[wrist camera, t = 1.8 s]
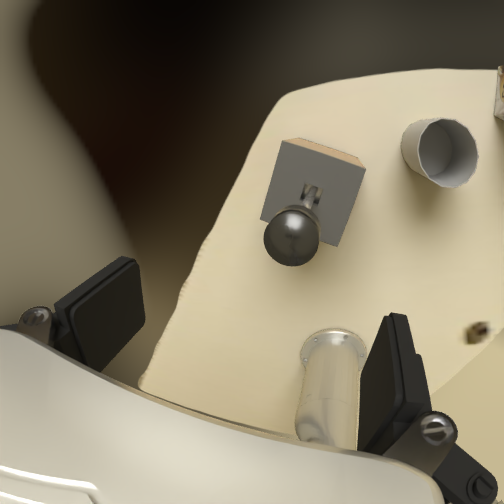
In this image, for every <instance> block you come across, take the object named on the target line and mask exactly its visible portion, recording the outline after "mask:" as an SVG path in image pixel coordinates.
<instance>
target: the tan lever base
mask: <svg viewBox="0 0 504 504" xmlns="http://www.w3.org/2000/svg"><path fill="white" fill-rule="evenodd" d="M365 171H366V168H365V167H364V166H363V164H362V163H361V162H360V160H359V159H358V158H357V157H354V156H351V155H349V154H346V153H343V152H340V151H337V150H334V149H332V148H329V147H326V146H323V145H320V144H317V143H314V142H310V141H307V140H304V139H301V138H295V139H289V140H283V141H282V143H281V146H280V150H279V153H278V157H277V160H276V164H275V167H274V171H273V175H272V178H271V182H270V185H269V189H268V192H267V196H266V199H265V203H264V206H263V210H262V214H261V217H260V220H263V221H266V222H268V223H270V221H271V220H272V219H273V218H274V216H275V215H276V214H277V212H278V211H279V210H281V209H282V208H284V207H286V206H289V205H301V204H302V202H303V201H304V199H301V196H302V193H303V189H304V186H305V183H308V184H310V185H313V186H316V187H319V188H322V189H323V191H322V194H321V197H320V200H319V203H318V204H315V203H313V204H312V207H311V210H312V211H313V212H314V213H315V214H316V216H317V217H318V219H319V222H320V225H321V234H320V239H319V241H322V242H325V243H328V244H330V245H333V246H336V247H338V244H339V242H340V239H341V236H342V234H343V231H344V229H345V226H346V224H347V221H348V218H349V216H350V213H351V210H352V208H353V205H354V202H355V199H356V197H357V194H358V191H359V188H360V185H361V182H362V180H363V177H364V174H365Z"/></svg>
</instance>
